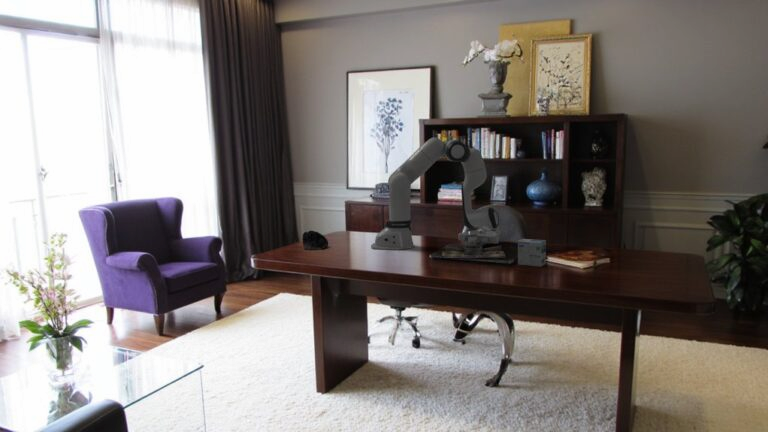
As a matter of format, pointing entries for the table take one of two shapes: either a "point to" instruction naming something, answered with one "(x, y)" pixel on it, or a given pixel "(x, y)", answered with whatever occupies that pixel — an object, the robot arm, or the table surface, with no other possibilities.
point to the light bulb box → (532, 252)
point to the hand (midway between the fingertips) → (472, 240)
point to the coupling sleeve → (472, 237)
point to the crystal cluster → (314, 240)
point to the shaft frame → (473, 251)
